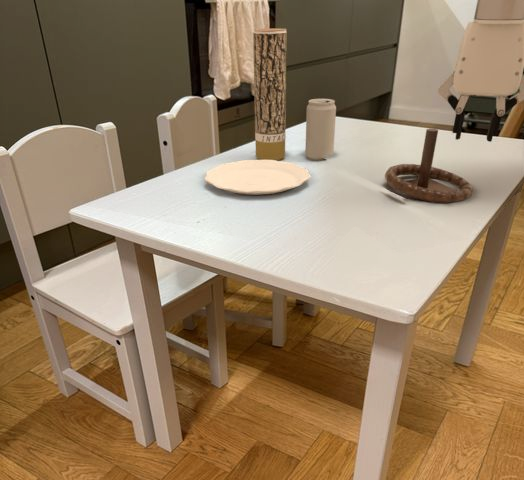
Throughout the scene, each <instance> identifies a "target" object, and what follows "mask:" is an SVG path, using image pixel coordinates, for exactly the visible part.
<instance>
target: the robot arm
mask: <svg viewBox="0 0 524 480" xmlns="http://www.w3.org/2000/svg"><path fill="white" fill-rule="evenodd" d="M474 11H475V12H474V17H473V21H468V22H467V24H466V27H465V30H464V33H463V36H462V39H461V42H460V47H459V50H458V56H457V60H456V64H455V69H454V71H453V72H452V73H451V74H450V75H449V76H448V77H447V78H446V80H445V81H444V82H443V83H442V84H441V86H440V87H439V88H438V94H439V95H440V96H441V97H442V98H443V99H444V100H446V102H448V104H449V106H450V107H451V108H452V110H453V111H454V113H455V117H454V122H453V128H452V134H455V140H457V141H458V140H460V139H461V136H462V131H463V126H464V120H465V116H466V113H465V106H466V104H467V103H468V100H469V97H470V96H488V97H489V96H490V97H491V96H492V97H495V109H494V111H493V113H492V114H491V115H490V120H489V124H488V128H487V133H486V141H487V142H491V143H492V141H493V137H494V136H498V133H499V129H500V125H501V121H502V118H503V116H505V114H506V113H507V112H508V111H510V110H512V109H513V108H514V107H515V106H517V104H520V103H521V102H523V101H524V73H523V72H524V0H477V1H476V7H475V10H474ZM451 87H452V89H453V91H454V92H455V93H456V94H459V95H460V96H459V98H458V97H457V96H456V95H455V94H454V93H453V92H452V91H451V90H450V88H451ZM518 90H519V91H518ZM512 95H513V96H512ZM508 96H510V97H509V98H508V99H507V100H506V97H508Z"/></svg>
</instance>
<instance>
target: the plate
mask: <svg viewBox="0 0 524 480" xmlns="http://www.w3.org/2000/svg"><path fill="white" fill-rule="evenodd" d="M310 179H311V175H310V173H309V170H308V169H307V168H306V167H304V166H300V165H298V164H297V163H295V162H290V161H280V160H260V159H244V160H237V161H233V162H226V163H221V164H219V165H217V166H215V167H213V168H211V169H209V170H207V171H206V172H205V177H204V181H205V182H206V183H208V184H210V185H212V186H213V187H214V188H217V189H219V190H225V191H227V192H229V193H233V194H239V195H247V196H249V195H251V196H253V195H254V196H259V195H260V196H261V195H262V196H263V195H272V194H278V193H283V192H286V191H289V190H291V189H294V188H297V187H300V186H301V185H302V184H303V183H306V182H307V181H309V180H310Z"/></svg>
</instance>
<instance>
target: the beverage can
mask: <svg viewBox="0 0 524 480" xmlns="http://www.w3.org/2000/svg"><path fill="white" fill-rule="evenodd" d="M335 102H336V100H335V99H332V98H313V99H309V100H308V104H307V106H306V119H305V120H306V121H305V151H304V153H305V154H304V155H305V156H306V157H307V158H308V159H309V160H311V161H318V162H319V161H327V160H328V159H327V157H328V158H329V157H332V156H334V149H335V147H334V146H335V131H336V116H337V106H336V104H335Z"/></svg>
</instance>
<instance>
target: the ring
mask: <svg viewBox="0 0 524 480" xmlns="http://www.w3.org/2000/svg"><path fill="white" fill-rule="evenodd" d="M420 165H421V164H415V163H399V164H396V165H393V166H390V167H389V168H388V169H387V170H386V172H385V173H384V179H385V182H386V183H387V184H389V185H388V186H389V187H391V188H392V189H394V190H395V191H396V192H398V193H401V194H403V195H404V196H405V195H406V196H408V197H411V198H413V199H417V200H421V201H425V202H429V203H435V204H436V203H438V204H451V203H458V202H464V201H466V200H467V199H469V198H470V197H472V193H473V186H472V185H471V184H470V182H469V181H468V180H466V179H465V178H463V177H462V176H459V175H457V174H456V173H454V172H451V171H448V170H444V169H443V168H438V167H434V166H432V168H431V173H430V179H433V180H434V179H436V180H439V181H442V182H443V181H444V182H447V183H450V184H452V185H454V186H456V187H458V189H460V190H458V191H451V192H446V191H437V190H431V189H427V188H423V187H418V186H416V185H413V184H410V183H408V182H405V181H406V180H404V179H402V178H400V177H399V176H418V177H419V171H420Z"/></svg>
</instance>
